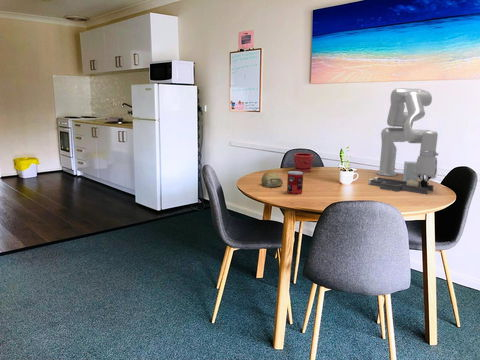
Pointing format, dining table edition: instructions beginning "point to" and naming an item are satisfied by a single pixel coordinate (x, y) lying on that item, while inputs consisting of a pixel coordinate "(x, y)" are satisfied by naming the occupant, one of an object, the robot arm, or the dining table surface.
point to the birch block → (414, 183)
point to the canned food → (295, 182)
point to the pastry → (271, 179)
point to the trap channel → (398, 185)
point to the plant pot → (303, 161)
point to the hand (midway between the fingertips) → (423, 187)
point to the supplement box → (409, 171)
